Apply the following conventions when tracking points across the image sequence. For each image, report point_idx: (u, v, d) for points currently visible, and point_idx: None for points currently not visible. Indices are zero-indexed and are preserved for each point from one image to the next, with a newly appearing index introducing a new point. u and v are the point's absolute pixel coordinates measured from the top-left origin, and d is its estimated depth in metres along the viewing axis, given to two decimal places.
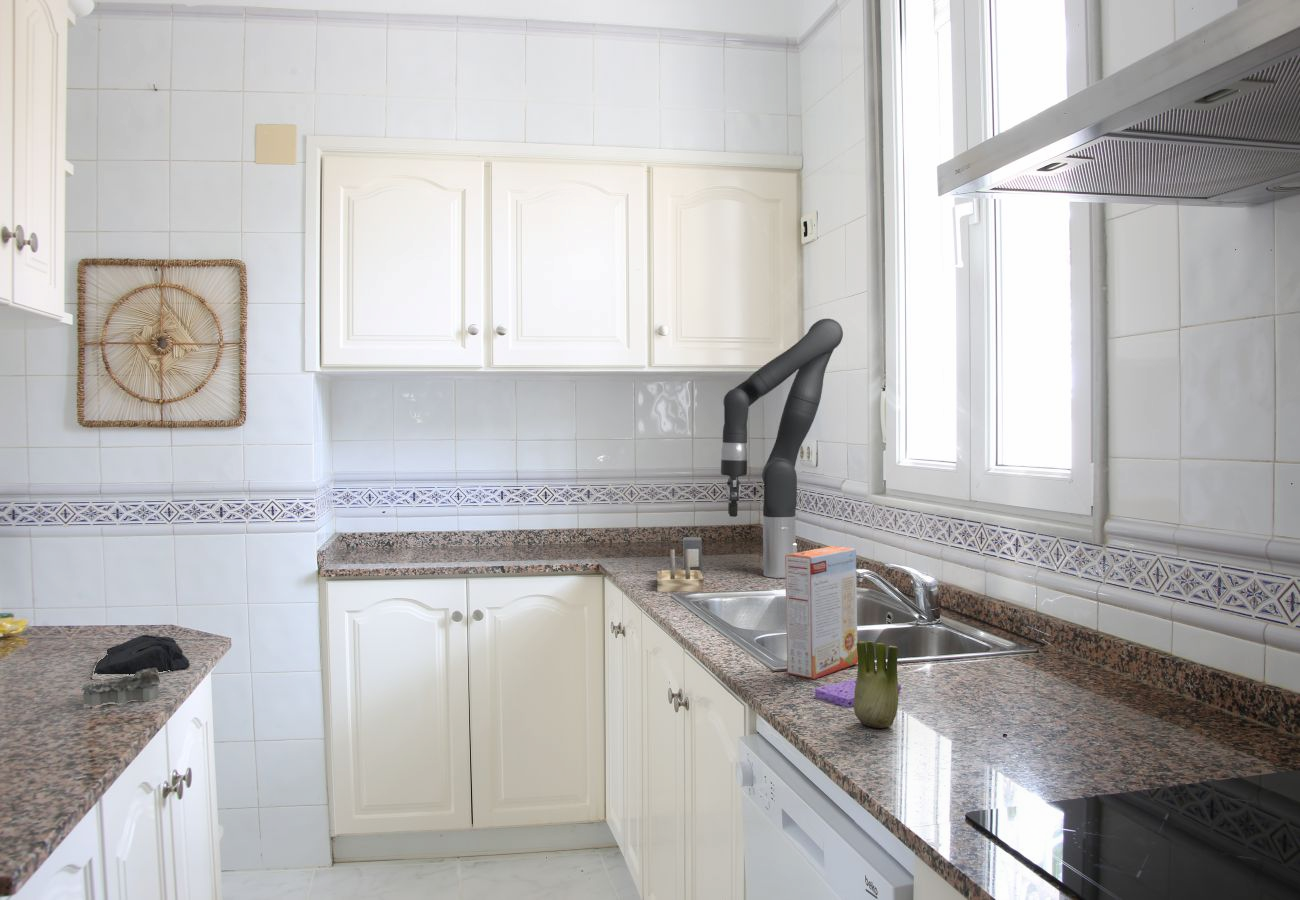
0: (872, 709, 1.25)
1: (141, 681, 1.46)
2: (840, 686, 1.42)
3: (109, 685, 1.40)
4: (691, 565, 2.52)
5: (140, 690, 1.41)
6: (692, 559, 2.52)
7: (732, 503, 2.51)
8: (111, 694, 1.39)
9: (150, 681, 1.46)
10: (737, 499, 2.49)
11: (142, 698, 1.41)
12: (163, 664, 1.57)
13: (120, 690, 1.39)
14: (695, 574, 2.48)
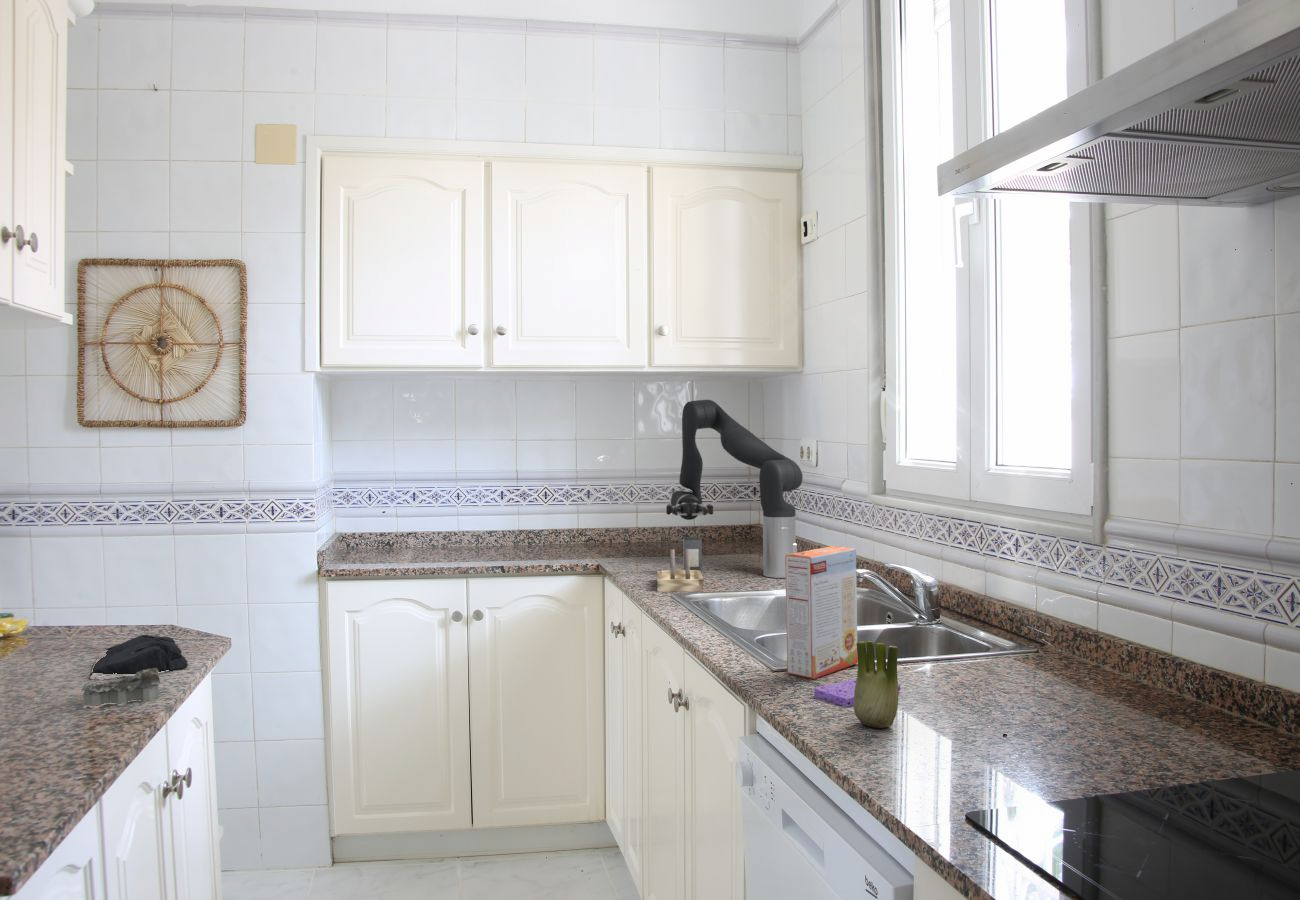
0: (872, 709, 1.25)
1: (141, 681, 1.45)
2: (839, 686, 1.42)
3: (109, 685, 1.40)
4: (691, 565, 2.52)
5: (140, 691, 1.41)
6: (692, 559, 2.52)
7: (671, 511, 2.70)
8: (111, 694, 1.39)
9: (150, 681, 1.46)
10: (666, 507, 2.72)
11: (142, 698, 1.40)
12: (161, 664, 1.57)
13: (120, 690, 1.39)
14: (695, 574, 2.48)
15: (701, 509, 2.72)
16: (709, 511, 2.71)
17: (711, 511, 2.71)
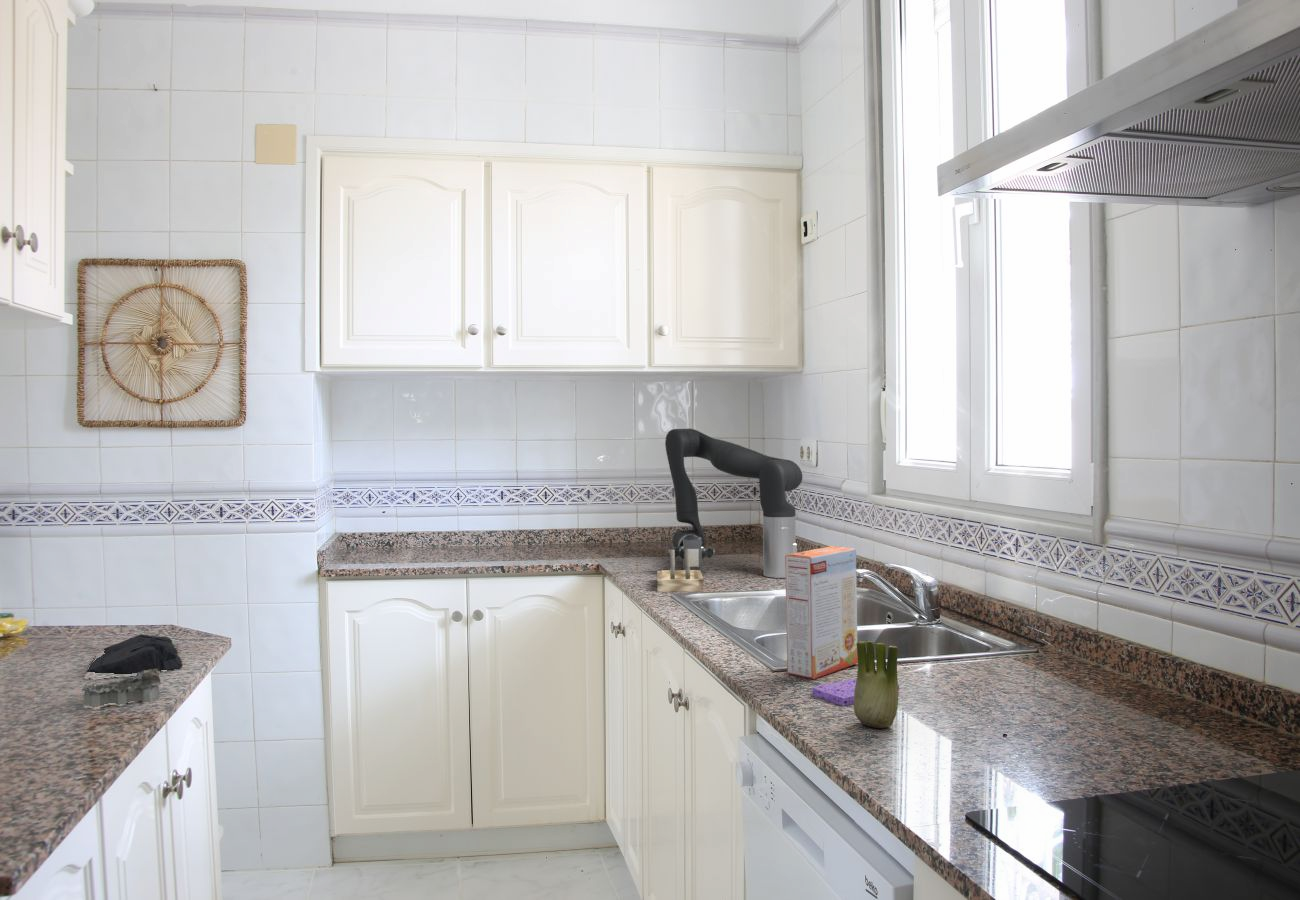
0: (872, 709, 1.25)
1: (142, 682, 1.45)
2: (838, 685, 1.43)
3: (109, 686, 1.40)
4: (691, 565, 2.52)
5: (140, 691, 1.40)
6: (692, 559, 2.52)
7: (678, 554, 2.57)
8: (111, 695, 1.39)
9: (151, 682, 1.46)
10: None
11: (142, 699, 1.40)
12: (155, 665, 1.57)
13: (120, 691, 1.38)
14: (695, 574, 2.48)
15: None
16: (707, 554, 2.57)
17: (709, 554, 2.57)
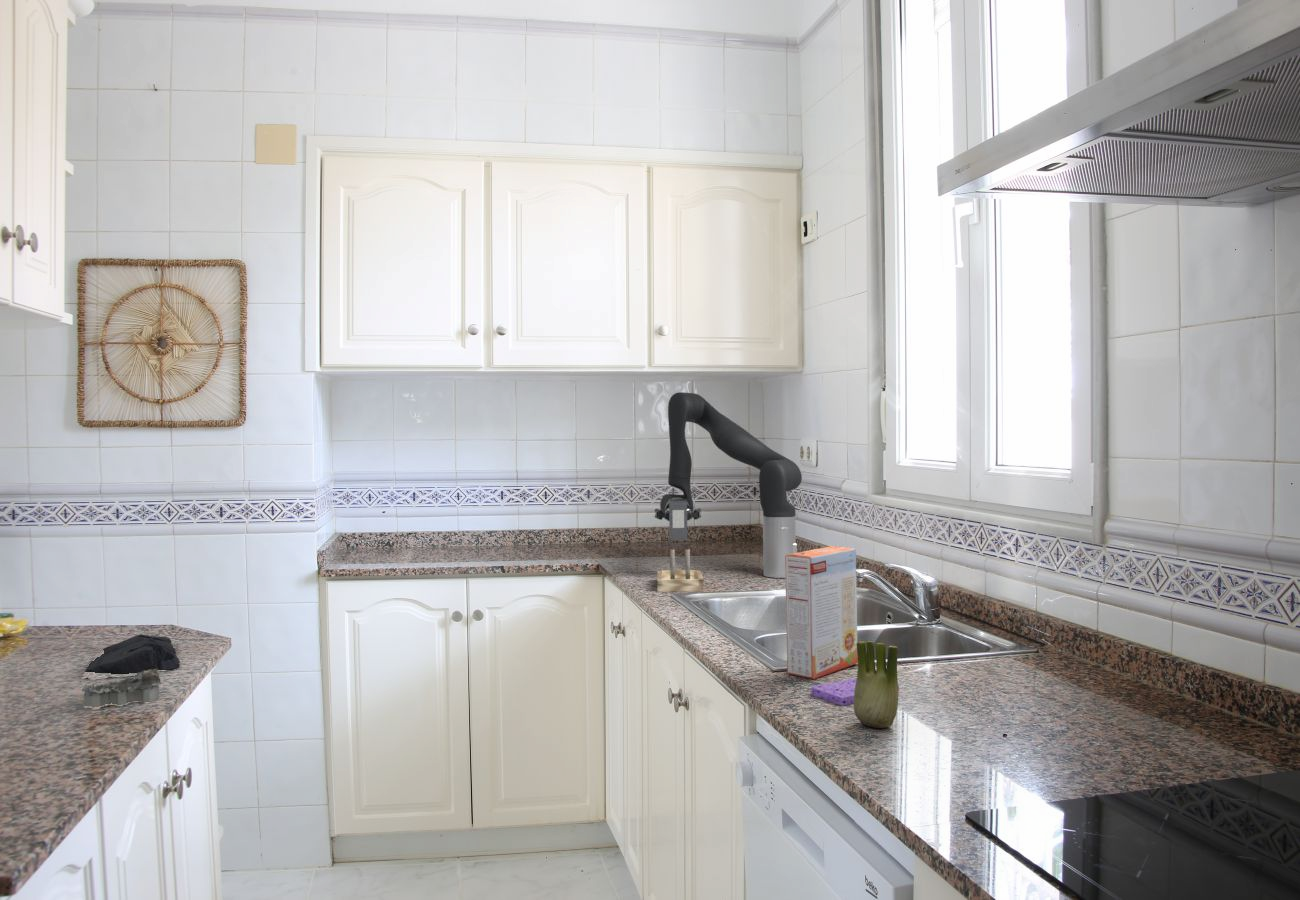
0: (872, 709, 1.25)
1: (142, 682, 1.45)
2: (837, 685, 1.43)
3: (109, 686, 1.39)
4: (676, 526, 2.50)
5: (141, 692, 1.40)
6: (678, 521, 2.50)
7: (664, 516, 2.55)
8: (111, 695, 1.38)
9: (151, 682, 1.46)
10: (658, 511, 2.56)
11: (142, 699, 1.40)
12: (152, 665, 1.57)
13: (120, 691, 1.38)
14: (695, 574, 2.48)
15: None
16: (693, 516, 2.55)
17: (695, 516, 2.55)
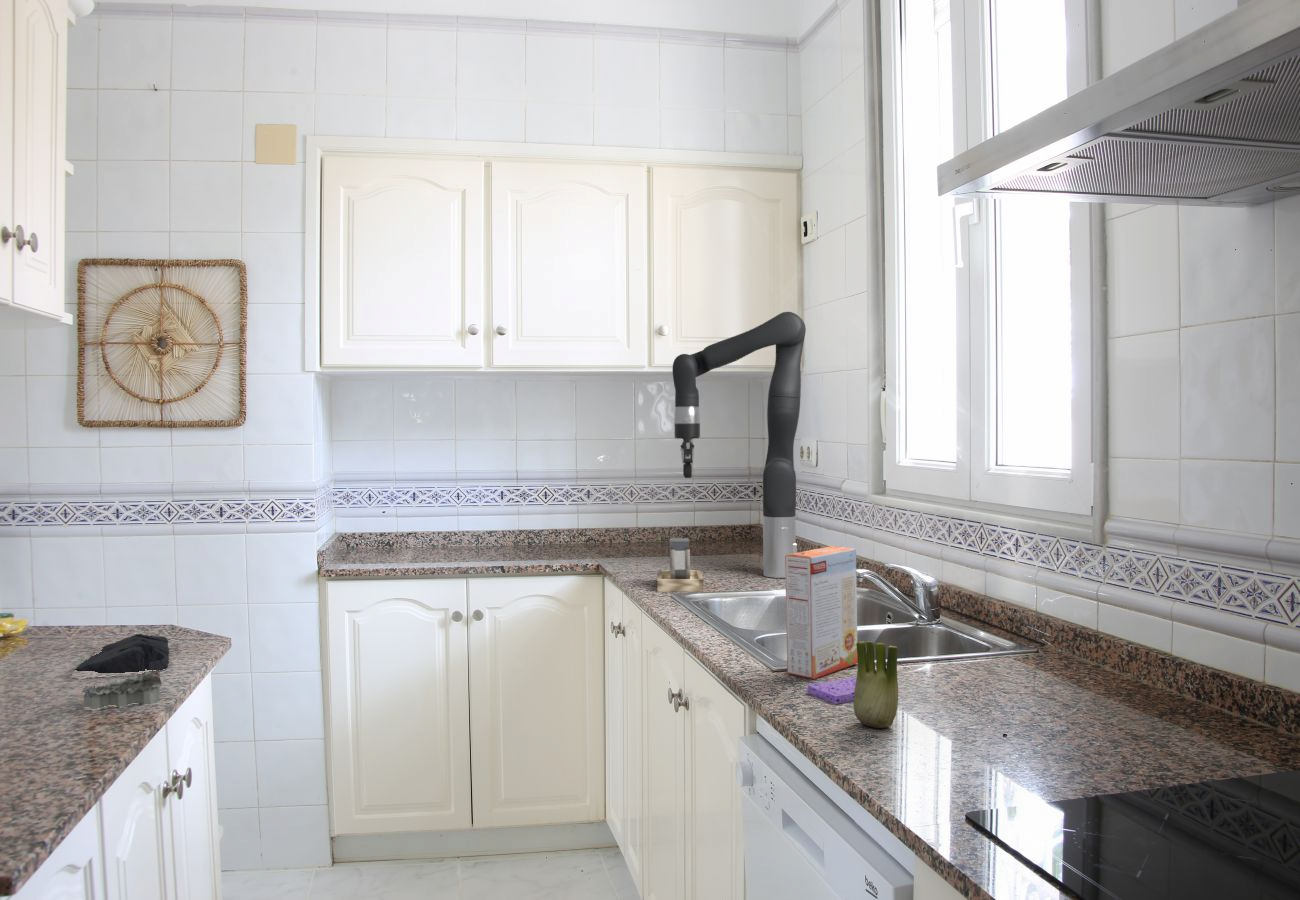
0: (872, 709, 1.25)
1: (143, 684, 1.44)
2: (834, 683, 1.43)
3: (110, 687, 1.39)
4: (678, 568, 2.37)
5: (141, 693, 1.39)
6: (679, 562, 2.37)
7: (686, 465, 2.59)
8: (112, 697, 1.38)
9: (152, 684, 1.45)
10: (691, 460, 2.57)
11: (143, 701, 1.39)
12: (139, 665, 1.57)
13: (120, 693, 1.37)
14: (695, 574, 2.48)
15: None
16: None
17: None
